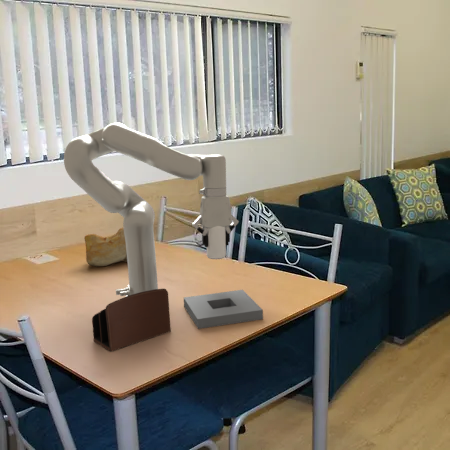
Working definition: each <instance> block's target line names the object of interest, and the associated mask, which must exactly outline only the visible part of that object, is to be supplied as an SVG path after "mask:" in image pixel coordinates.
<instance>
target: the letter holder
mask: <svg viewBox="0 0 450 450" xmlns="http://www.w3.org/2000/svg"><path fill="white" fill-rule="evenodd" d="M169 299H170V298H169V292H168V290H167V289H166V288H158V289H155V290H149V291H144V292H140V293H136V294H132V295H129V296H127V297H126V296H123V297H122V298H119V299H117V300H114V301H112V302H110V303H108V304H107V305H106V307H105V308H104V309H102V310H101V311H99V312H98V313H96V314H94V315H93V316H92V319H91V321H92V334H93V342H94V343H96V344H98V345H99V346H101V347H102V348H104V349H106V350H107V351H109V352H114V351H117V350H120V349H123V348H126V347H129V346H132V345H134V344H138V343H141V342H144V341H146V340H149V339H153V338H155V337H159V336H162V335H165V334H168V333H171V332H172V330H171V329H172V328H171V317H170V314H171V313H170V300H169Z"/></svg>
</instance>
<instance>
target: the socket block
mask: <svg viewBox="0 0 450 450" xmlns="http://www.w3.org/2000/svg"><path fill="white" fill-rule="evenodd" d="M183 307H184V308H185V310H186V312H187V313H188V315H189V316H190V318H191V320H192V321H193V323H194V324H195V326H196V329H207V328H213V327H219V326H226V325H232V324H233V325H235V324H238V323H239V324H240V323H245V322H254V321H260V320H264V313H263V312H264V310H263V308H262V307H261V306H260V305H258V303H256V301H255V300H254V299H253V298H252V297H251V296H249V295H248V293H247V292H246V291H245V290H243V289H237V290H229V291H224V292H223V291H222V292H214V293H208V294H207V293H206V294H201V295H199V294H198V295H193V296H192V295H191V296H186V297H185V296H184V297H183Z"/></svg>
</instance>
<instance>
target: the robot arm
mask: <svg viewBox="0 0 450 450" xmlns="http://www.w3.org/2000/svg"><path fill="white" fill-rule="evenodd" d="M113 152H116V153H119V154H122V155H124V156H127V157H130V158H132V159H135V160H137V161H140V162H143V163H145V164H147V165H149V166H150V167H151V166H152V167H153V168H156V169H158V170H160V171H162V172H164V173H167V174H170V175H172V176H175V177H178V178H181V179H183V180H187V181H193V180H197V179H198V178H199V177H200V176H202V181H203V182H202V184H203V185H202V189H199V190H198V192H199V193H198V194H200V195H202V196H201V200H200V206H199V207H200V208H199V216H198V217H197V218H196V219H195V220H194V222H192V225H191V226H192V227H194V228H195V230H197V231H198V232H199V233H200V234H201V239H202V241H201V242H202V243H201V244H202V245H203V246H204V247H205V248H207V247H208V236H207V231H208V228H213V227H216V226H222V227H225V231H226V246H229V243H230V242H231V240H230V239H231V233H232V231H233V230H235V227H236V226H237V225H238V224H239V222H240V221H239V220H238V219H237V218H236V217H235V216H233V215H232V214H233V213H232V206H231V199H230V196H229V195H227V163H226V162H227V161H226V157H225V155H223V154H218V153H217V154H214V153H213V154H211V153H210V154H196V153H189V154H188V153H187V154H186V153H183V152H181V151H178V150H177V149H176V150H175V149H173V148H171V147H169V146H167V145H165V144H164V143H162V142H161V141H160V139H157V138H156V137H153V136H151V135H148V134H145V133H142V132H140V131H137V130H134V129H132V128H130V127H128V126H127V125H126V124H124V123H121V122H112V123H110V124H108V125H106V126H105V127H103V128H102V127H101V128H100V129H98V130H95V131H92V132H90V133H87V134H85V135H84V134H83V135H81V136H78V137H75V138H73V139H71V141H69V143H68V144H67V145H66V147H65V150H64V154H63V165H64V168H65V171H66V174H67V175H68V176H69V177H70V179H71V180H72V181H73V182H74V183H75V184H76V185H77V186H79V188H81V189H82V190H83V191H84V192H85V193H86V194H87V195H88V196H89V197H90V198H92V200H94V201H96V203H97V204H99V206H100V207H102V208H103V209H104V210H105V211H107V212H108V213H111V214H119V215H120V216H122V217H123V222H122V223H123V224H122V225H123V229H124V235H125V242H126V253H127V272H128V284H127V286H125V287H124V288H117V289H115V295H116V296H120V297H127V296H129V295H132V294H136V293H140V292H144V291H149V290H155V289H159V284H158V273H157V270H158V269H157V259H156V258H157V257H156V256H157V255H156V246H155V245H156V243H155V233H154V222H155V218H156V214H155V213H156V212H155V210H154V208H153V206H152V205H151V204H150V203H149V202H148V201H147V200H146V199H144V198H143V197H142V196H141V195H140V194H138V192H137V191H135V190H134V189H133V188H132V187H131V186H129V185H128V184H127V183H125V182H123V181H119V180H112V179H111V178H110V177H109V176H108V175H107V174H105V172H103V171H102V169H100V168H99V167H97V166H95V164H94V163H93V162H92V161H93V160H95V159H97V158H100V157H103V156H105V155H108V154H110V153H113ZM199 224H200V225H201V226H202V228H201V227H200V226H199Z"/></svg>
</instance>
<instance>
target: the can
mask: <svg viewBox="0 0 450 450" xmlns="http://www.w3.org/2000/svg"><path fill="white" fill-rule="evenodd" d="M207 236H208V247H206V257H207V259H210V260H222V259H225V257H226V255H227V245H226V231H225V227H222V226H216V227H213V228H208V231H207Z"/></svg>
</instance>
